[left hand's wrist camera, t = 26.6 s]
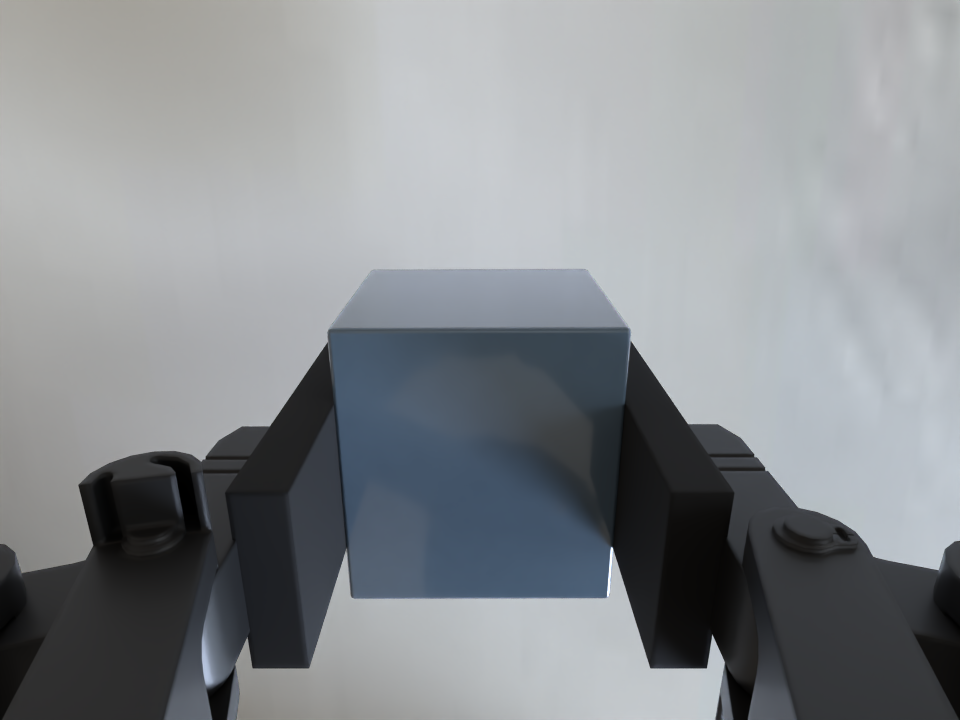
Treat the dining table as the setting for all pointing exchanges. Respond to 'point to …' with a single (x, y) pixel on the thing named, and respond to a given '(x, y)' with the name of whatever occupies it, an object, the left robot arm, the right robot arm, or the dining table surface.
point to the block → (479, 433)
